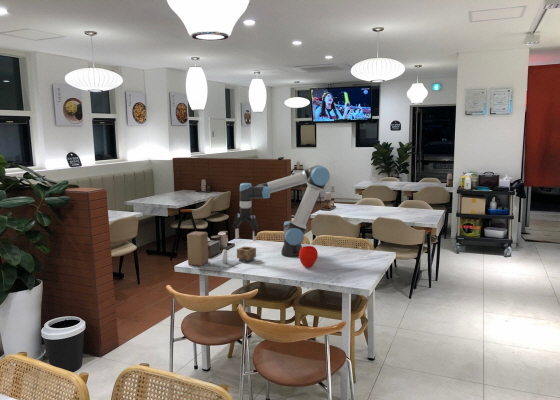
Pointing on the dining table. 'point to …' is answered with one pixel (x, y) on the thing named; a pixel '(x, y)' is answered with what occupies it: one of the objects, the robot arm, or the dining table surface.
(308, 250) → the apple
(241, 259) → the stand
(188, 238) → the wooden block
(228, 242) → the dining table surface
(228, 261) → the hub
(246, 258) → the collar
